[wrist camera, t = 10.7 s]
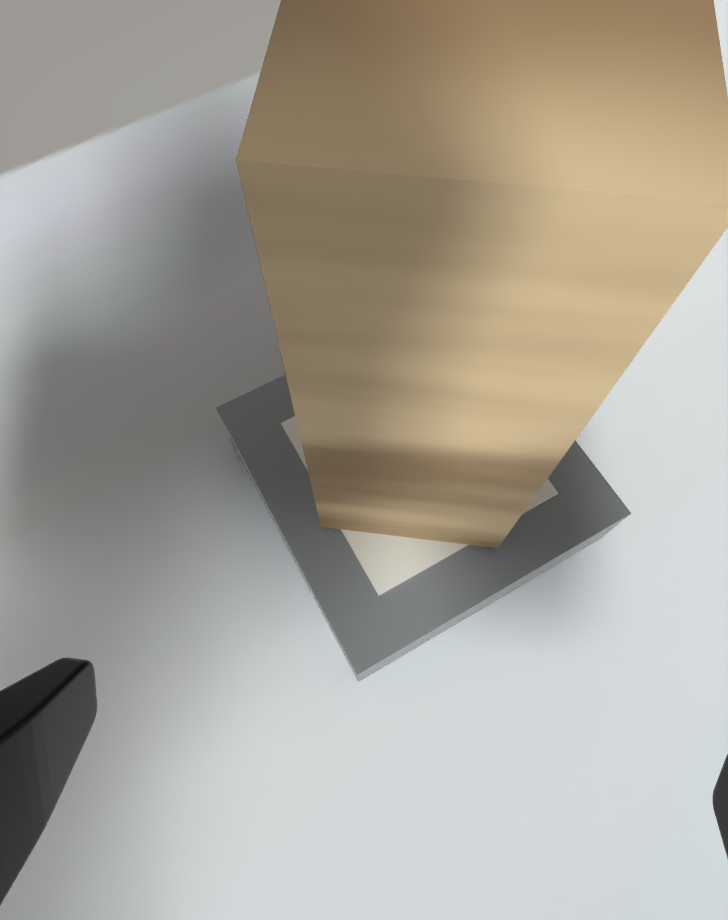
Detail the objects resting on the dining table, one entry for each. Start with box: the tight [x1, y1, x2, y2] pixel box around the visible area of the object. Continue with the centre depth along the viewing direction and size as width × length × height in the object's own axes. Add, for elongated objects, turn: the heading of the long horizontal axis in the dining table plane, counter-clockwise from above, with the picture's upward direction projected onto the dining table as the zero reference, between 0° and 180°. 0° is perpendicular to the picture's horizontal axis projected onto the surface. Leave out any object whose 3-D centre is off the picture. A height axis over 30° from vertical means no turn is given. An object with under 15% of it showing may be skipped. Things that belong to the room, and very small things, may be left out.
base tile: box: [217, 375, 631, 682], centre depth 20 cm, size 9×9×3 cm
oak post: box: [236, 0, 728, 548], centre depth 13 cm, size 5×5×12 cm
